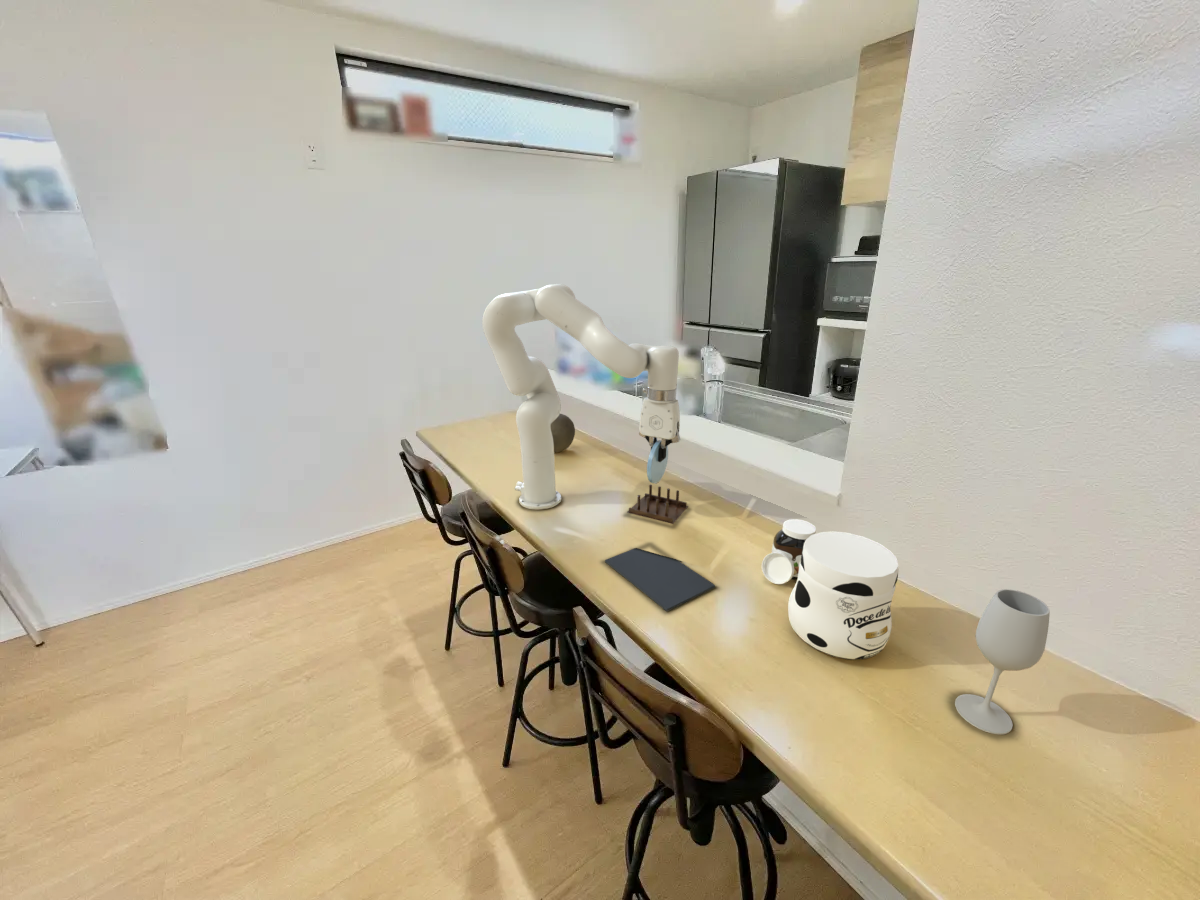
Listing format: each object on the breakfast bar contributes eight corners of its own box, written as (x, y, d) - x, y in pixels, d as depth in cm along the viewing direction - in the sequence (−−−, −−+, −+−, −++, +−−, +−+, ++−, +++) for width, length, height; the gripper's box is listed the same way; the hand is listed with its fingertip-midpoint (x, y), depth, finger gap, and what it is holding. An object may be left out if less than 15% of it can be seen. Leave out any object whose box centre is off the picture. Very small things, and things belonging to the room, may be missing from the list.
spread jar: (815, 566, 114) (822, 521, 110) (818, 594, 104) (827, 547, 100) (761, 557, 118) (766, 513, 114) (759, 584, 108) (765, 537, 104)
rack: (626, 515, 139) (626, 496, 137) (644, 498, 149) (644, 480, 146) (673, 527, 132) (674, 507, 130) (688, 509, 142) (689, 490, 140)
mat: (604, 562, 117) (604, 559, 117) (650, 544, 124) (650, 542, 124) (666, 611, 100) (666, 609, 100) (715, 587, 107) (715, 585, 107)
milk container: (882, 684, 82) (904, 594, 76) (775, 645, 91) (787, 561, 84) (888, 624, 96) (908, 543, 89) (795, 595, 104) (807, 520, 98)
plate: (645, 489, 133) (647, 447, 128) (663, 473, 142) (665, 434, 138) (650, 490, 132) (652, 448, 128) (667, 474, 142) (669, 435, 138)
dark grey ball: (533, 449, 190) (531, 411, 185) (567, 443, 196) (566, 407, 191) (545, 461, 178) (543, 421, 173) (581, 455, 184) (580, 416, 179)
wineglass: (941, 696, 80) (975, 587, 72) (985, 692, 80) (1023, 584, 73) (979, 737, 73) (1020, 621, 65) (1027, 733, 73) (1073, 618, 66)
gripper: (628, 393, 129) (626, 458, 135) (684, 401, 122) (679, 470, 128) (640, 387, 135) (638, 450, 142) (694, 395, 128) (689, 460, 134)
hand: (658, 459), depth 135 cm, fingers closed on plate, 1 cm apart
